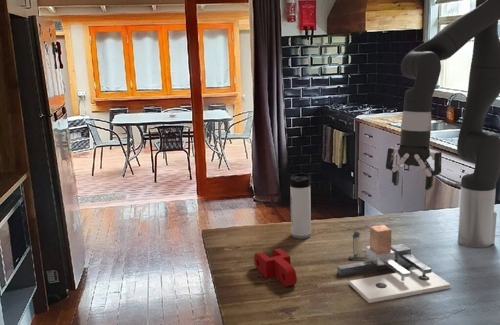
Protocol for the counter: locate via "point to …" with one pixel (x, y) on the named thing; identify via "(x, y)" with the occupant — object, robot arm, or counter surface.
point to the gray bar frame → (401, 258)
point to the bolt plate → (397, 285)
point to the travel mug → (300, 206)
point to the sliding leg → (383, 250)
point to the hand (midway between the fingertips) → (411, 187)
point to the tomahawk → (356, 247)
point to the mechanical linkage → (276, 266)
